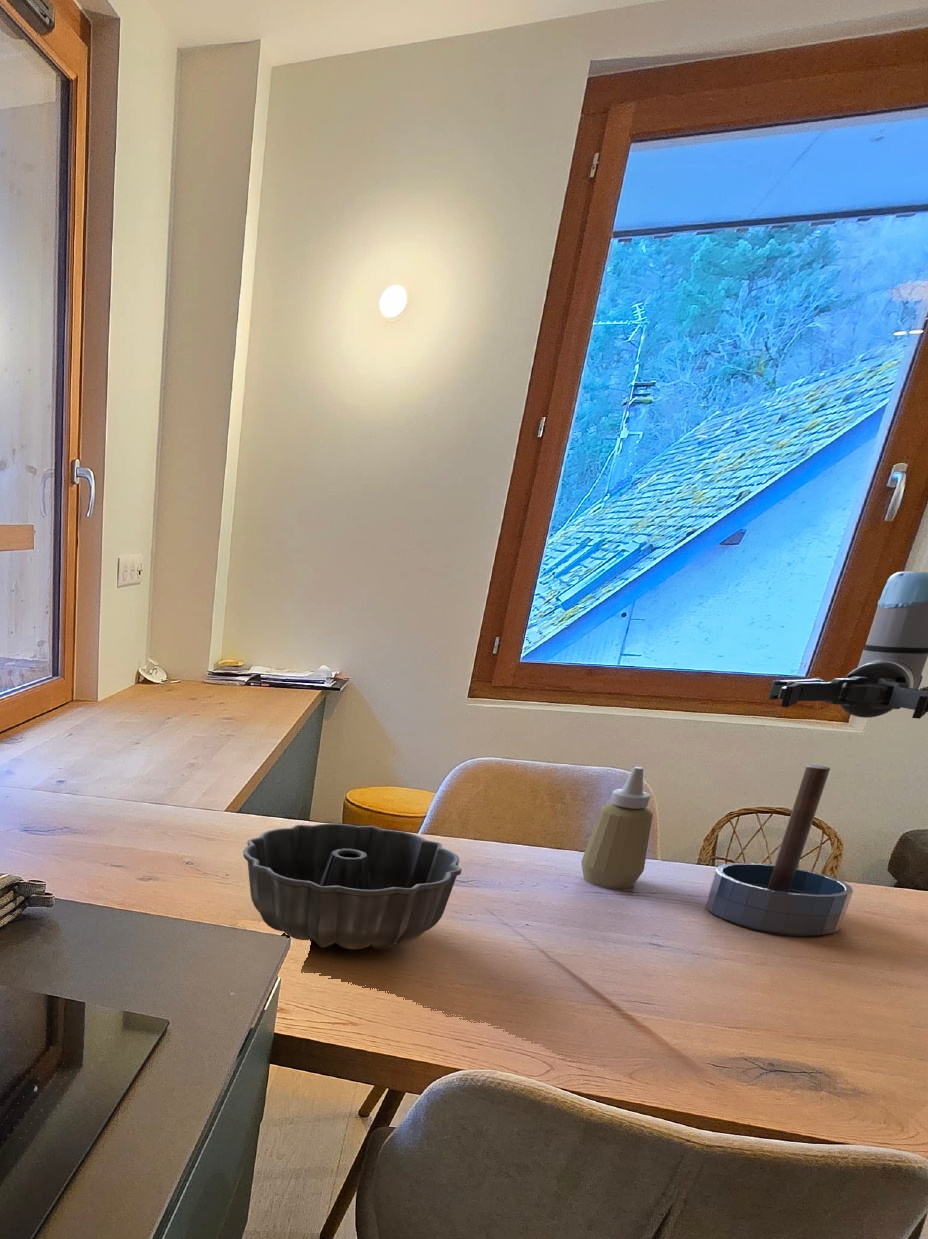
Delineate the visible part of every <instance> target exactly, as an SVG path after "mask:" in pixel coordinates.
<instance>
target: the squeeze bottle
mask: <svg viewBox="0 0 928 1239" xmlns="http://www.w3.org/2000/svg"><path fill="white" fill-rule="evenodd" d="M650 798H651V794H650V793H649V792H646V791H644V767H642V766H633V767H632V769H631V771H630V773H629V775H628V777H627V779H626V781H625V783H624V784H623V787H622V788H616V789H614V790H613V791H612V794H611V797H610V801H609V803H607V804H605V805H603V806H601V808H600V811H599V814H598V816H597V819H596V821H595V823H594V826H593V829H592V832H591V834H590V837H589V840H588V842H587V845H586V848H585V851H584V854H583V856H582V859H581V869H582V870H581V871H582V877H583V880H584V881H585V882H586V883H588V884H590V885H592V886H596V887H599V888H605V889H610V890H626V889H627V890H628V889H630V888H632V887H633V886H634V885H635V883H636V882H637V881H638V879H639V878H640V876H641V875H642V874H643V872H644V871H645V864H646V861H647V860H646V859H647V854H648V852H647V851H648V847H649V840H650V835H651V834H650V833H651V827H652V822H653V816H654V815H653V814H654V813H653V811H651V809H649V807H648V804H649V802H650Z"/></svg>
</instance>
